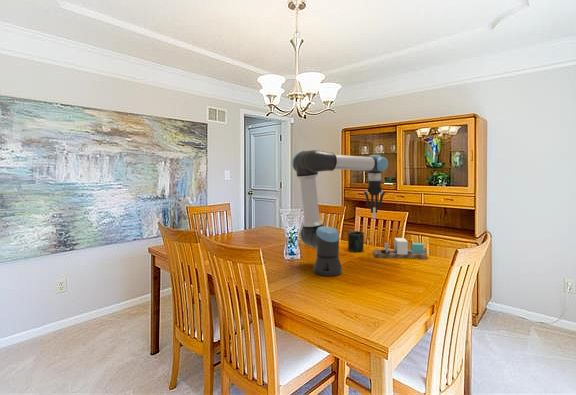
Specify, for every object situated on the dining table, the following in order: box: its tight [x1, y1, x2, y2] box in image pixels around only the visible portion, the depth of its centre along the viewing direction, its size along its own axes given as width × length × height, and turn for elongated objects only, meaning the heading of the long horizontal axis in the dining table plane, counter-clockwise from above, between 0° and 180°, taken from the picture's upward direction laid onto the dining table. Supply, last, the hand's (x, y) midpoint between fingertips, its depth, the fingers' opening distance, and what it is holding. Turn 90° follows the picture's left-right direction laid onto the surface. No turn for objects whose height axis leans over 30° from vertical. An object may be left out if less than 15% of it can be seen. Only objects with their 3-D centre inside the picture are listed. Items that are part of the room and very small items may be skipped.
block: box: [410, 242, 425, 252], centre depth 200 cm, size 6×4×4 cm
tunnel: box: [393, 237, 409, 255], centre depth 201 cm, size 6×10×8 cm, turn 172°
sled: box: [384, 242, 428, 255], centre depth 201 cm, size 24×7×5 cm, turn 82°
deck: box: [372, 248, 428, 260], centre depth 202 cm, size 30×11×2 cm, turn 82°
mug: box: [347, 230, 365, 253], centre depth 217 cm, size 11×15×12 cm
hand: (373, 218), depth 202 cm, fingers closed
